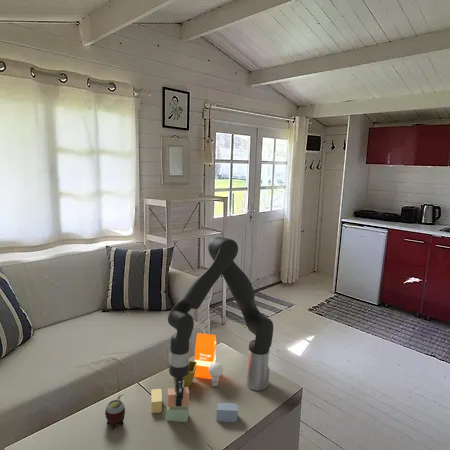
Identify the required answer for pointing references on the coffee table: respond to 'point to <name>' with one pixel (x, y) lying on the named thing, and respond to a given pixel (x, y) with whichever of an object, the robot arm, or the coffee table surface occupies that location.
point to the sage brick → (178, 413)
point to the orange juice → (204, 354)
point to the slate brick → (227, 412)
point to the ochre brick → (156, 401)
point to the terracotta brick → (172, 399)
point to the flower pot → (190, 374)
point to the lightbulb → (215, 372)
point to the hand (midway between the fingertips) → (178, 401)
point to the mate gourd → (115, 412)
